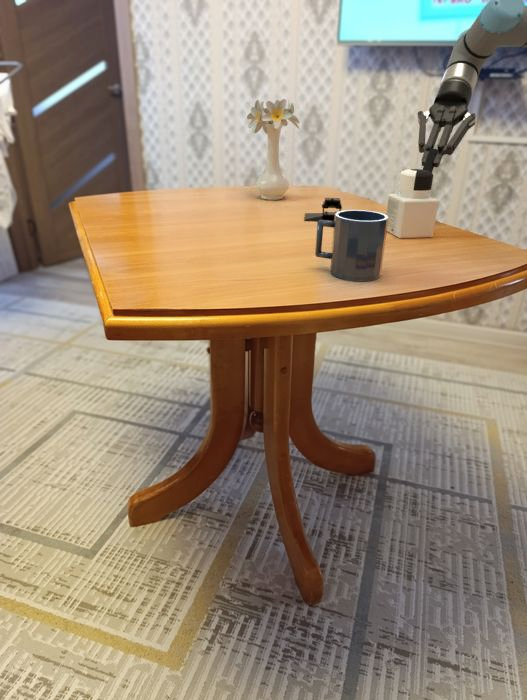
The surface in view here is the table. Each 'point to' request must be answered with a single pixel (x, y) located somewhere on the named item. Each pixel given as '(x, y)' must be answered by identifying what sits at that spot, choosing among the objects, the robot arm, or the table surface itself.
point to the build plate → (325, 215)
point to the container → (412, 206)
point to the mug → (355, 244)
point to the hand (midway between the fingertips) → (425, 177)
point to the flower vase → (272, 145)
